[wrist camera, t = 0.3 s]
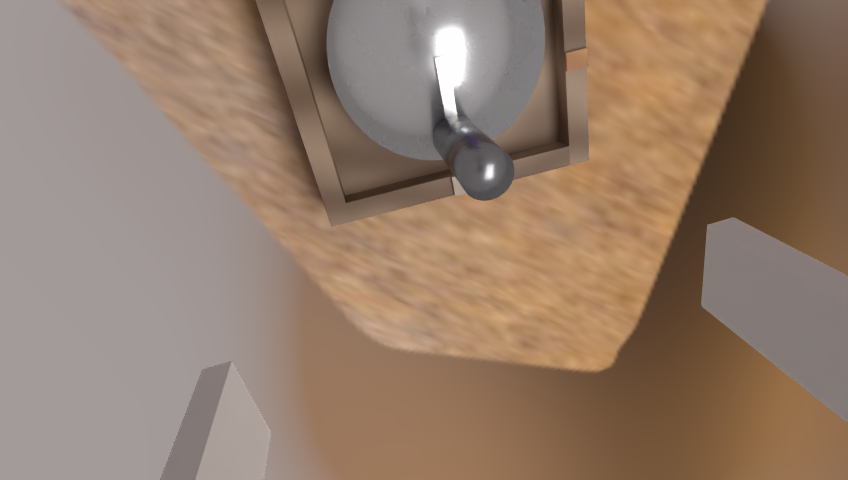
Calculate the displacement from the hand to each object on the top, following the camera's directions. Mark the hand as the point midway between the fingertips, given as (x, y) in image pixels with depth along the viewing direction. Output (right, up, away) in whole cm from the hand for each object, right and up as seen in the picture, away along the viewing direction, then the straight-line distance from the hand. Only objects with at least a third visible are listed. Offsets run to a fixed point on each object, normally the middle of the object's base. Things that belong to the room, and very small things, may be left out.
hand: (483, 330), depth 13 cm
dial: (-1, +15, +18) cm, 24 cm away
